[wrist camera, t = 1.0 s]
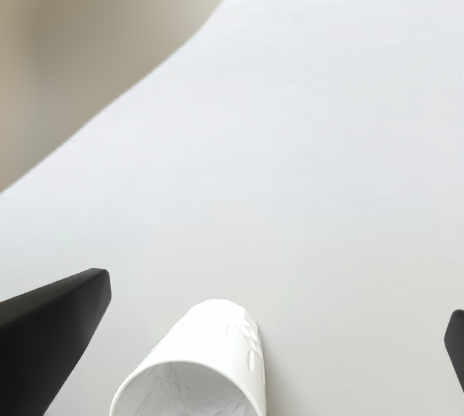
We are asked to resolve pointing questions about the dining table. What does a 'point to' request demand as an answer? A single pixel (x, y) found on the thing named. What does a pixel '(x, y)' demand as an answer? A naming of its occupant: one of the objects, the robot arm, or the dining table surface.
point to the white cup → (200, 368)
